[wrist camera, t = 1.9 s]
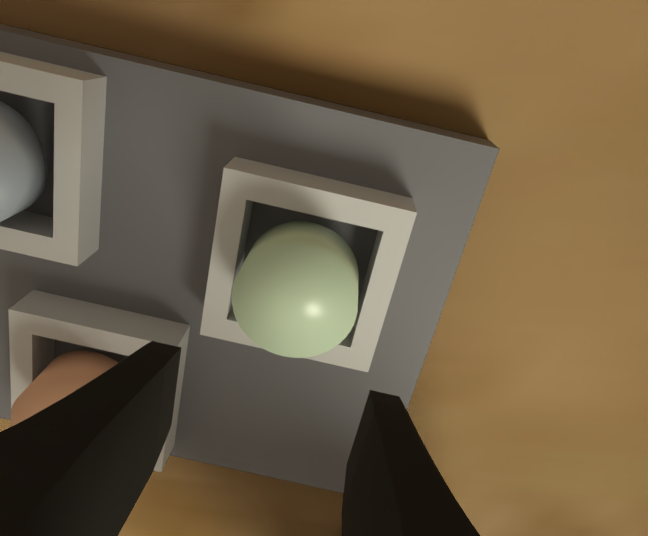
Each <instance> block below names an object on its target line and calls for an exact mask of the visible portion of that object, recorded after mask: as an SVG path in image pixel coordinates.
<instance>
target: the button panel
mask: <svg viewBox="0 0 648 536" xmlns="http://www.w3.org/2000/svg"><path fill="white" fill-rule="evenodd" d="M0 101H1V102H3V103H5V104H7V105H8V106H10V107H11V108H13V109H14V110H15V111H17V112H18V113H19V114H20V115H21V116H22V117H24V119H25V120H26V121H27V122H28V123H29V124H30V125H31V127H32V128H33V129H34V131H35V132H36V134H37V136H38V137H39V139H40V141H41V144H42V146H43V149H44V152H45V155H46V160H47V180H46V184H45V187H44V190H43V192H42V194H41V195H40V197H39V198H38V199H37V200H36V202H35V203H33V204H32V205H31V206H30V207H28V208H26V209H25V210H23V211H21V212H19V213H17V214H15V215H13V216H11V217H9V218H7V219H5V220H3V221H1V222H0V418H3V419H8V420H11V418H10V417H11V409H12V406H13V404H14V402H15V400H16V399H17V398H18V397H19V396H20V394H21V393H22V392H23V391H24V390H25V389H26V388H27V387H28V386H29V385H30V384H31V383H32V382H33V381H34V380H35V379H36V378H37V377H38V376H39V375H40V373H41V372H42V371H43V370H44V369H45V368H46V367H47V366H48V365H49V364H50V363H51V362H52V361H53V360H54V359H55V358H57V357H58V356H60V355H62V354H64V353H67V352H71V351H79V350H84V351H93V352H97V353H101V354H103V355H106V356H108V357H110V358H112V359H114V360H115V361H117V362H118V363H119V362H121V361H122V360H123V359H125V358H126V357H128V356H129V355H131V354H132V353H134V352H135V351H137V350H138V349H140V348H141V347H143V346H144V345H146V344H148V343H149V342H151V341H155V342H159V343H164V344H168V345H173V346H177V347H182V348H181V355H180V363H179V371H178V379H177V386H176V394H175V402H174V410H173V418H172V425H171V428H170V431H169V433H168V436H167V438H166V441H165V443H164V446H163V448H162V451H161V453H160V456H159V458H158V460H157V463H156V465H155V468H154V471H158V472H162V470H163V468H164V466H165V464H166V462H167V459H168V457H169V455H172V456H176V457H181V458H185V459H190V460H194V461H199V462H203V463H208V464H213V465H217V466H222V467H226V468H231V469H235V470H240V471H244V472H249V473H254V474H258V475H263V476H267V477H272V478H276V479H281V480H285V481H290V482H294V483H299V484H304V485H308V486H313V487H317V488H322V489H326V490H331V491H335V492H340V493H344V485H345V475H346V466H347V462H348V459H349V455H350V452H351V449H352V446H353V443H354V439H355V436H356V433H357V430H358V427H359V423H360V420H361V417H362V414H363V411H364V407H365V404H366V401H367V398H368V395H369V391H370V390H373V391H377V392H382V393H386V394H391V395H395V396H399V397H400V399H401V400H402V402H403V404H404V406H405V408H406V410H407V408H408V405H409V402H410V399H411V397H412V394H413V391H414V388H415V385H416V382H417V380H418V377H419V374H420V371H421V368H422V366H423V363H424V360H425V357H426V354H427V351H428V349H429V346H430V343H431V340H432V337H433V335H434V332H435V329H436V326H437V323H438V320H439V318H440V315H441V312H442V309H443V306H444V304H445V301H446V298H447V295H448V292H449V290H450V287H451V284H452V281H453V278H454V275H455V273H456V270H457V267H458V264H459V261H460V259H461V256H462V253H463V250H464V247H465V244H466V242H467V239H468V236H469V233H470V230H471V228H472V225H473V222H474V219H475V216H476V213H477V211H478V208H479V205H480V202H481V199H482V197H483V194H484V191H485V188H486V185H487V182H488V180H489V177H490V174H491V171H492V168H493V166H494V163H495V160H496V157H497V154H498V151H499V148H498V147H497V146H495V145H494V144H493V143H492V142H491V141H490V140H487V139H483V138H479V137H475V136H471V135H466V134H462V133H458V132H454V131H450V130H445V129H441V128H437V127H433V126H429V125H424V124H420V123H416V122H412V121H408V120H403V119H399V118H395V117H391V116H386V115H382V114H378V113H374V112H370V111H365V110H361V109H357V108H353V107H349V106H344V105H340V104H336V103H332V102H328V101H323V100H319V99H315V98H311V97H307V96H302V95H298V94H294V93H290V92H286V91H281V90H277V89H273V88H269V87H265V86H260V85H256V84H252V83H248V82H243V81H239V80H235V79H231V78H227V77H222V76H218V75H214V74H210V73H206V72H201V71H197V70H193V69H189V68H185V67H180V66H176V65H172V64H168V63H164V62H159V61H155V60H151V59H147V58H143V57H138V56H134V55H130V54H126V53H122V52H117V51H113V50H109V49H105V48H101V47H96V46H92V45H88V44H84V43H79V42H75V41H71V40H67V39H63V38H58V37H54V36H50V35H46V34H42V33H37V32H33V31H29V30H25V29H21V28H16V27H12V26H8V25H4V24H0ZM293 221H307V222H313V223H317V224H320V225H323V226H325V227H327V228H329V229H331V230H332V231H334V232H336V233H337V234H338V235H339V236H341V237H342V238H343V239H344V240H345V241H346V243H347V244H348V245H349V247H350V248H351V250H352V252H353V253H354V256H355V258H356V261H357V265H358V272H359V284H358V312H357V316H356V320H355V323H354V325H353V327H352V329H351V331H350V332H349V334H348V335H347V336H346V338H345V339H344V340H343V341H342V342H341V343H340V344H338V345H337V346H336V347H334V348H333V349H331V350H329V351H327V352H325V353H323V354H320V355H316V356H312V357H306V358H291V357H285V356H280V355H277V354H274V353H271V352H269V351H267V350H265V349H263V348H261V347H260V346H258V345H257V344H256V343H254V342H253V341H252V340H251V339H250V338H249V337H248V336H247V335H246V334H245V333H244V332H243V330H242V329H241V327H240V326H239V324H238V322H237V320H236V318H235V315H234V312H233V307H232V289H233V285H234V282H235V279H236V277H237V275H238V273H239V271H240V269H241V267H242V265H243V263H244V261H245V259H246V258H247V256H248V254H249V252H250V250H251V248H252V247H253V245H254V243H255V242H256V241H257V240H258V238H259V237H260V236H261V235H263V234H264V233H265V232H266V231H268V230H269V229H271V228H273V227H275V226H277V225H280V224H283V223H287V222H293Z"/></svg>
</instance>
